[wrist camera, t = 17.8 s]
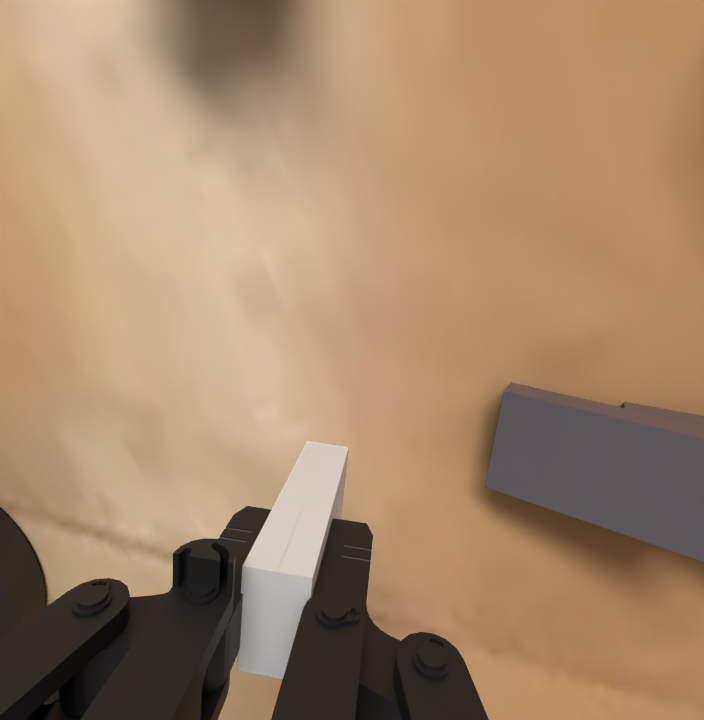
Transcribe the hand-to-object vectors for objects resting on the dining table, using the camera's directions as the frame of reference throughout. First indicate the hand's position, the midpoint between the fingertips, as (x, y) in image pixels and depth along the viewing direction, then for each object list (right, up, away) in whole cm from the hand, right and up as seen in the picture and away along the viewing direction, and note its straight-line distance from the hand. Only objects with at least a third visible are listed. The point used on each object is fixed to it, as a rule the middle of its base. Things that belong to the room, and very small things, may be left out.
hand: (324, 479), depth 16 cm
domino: (+8, +1, +6) cm, 10 cm away
